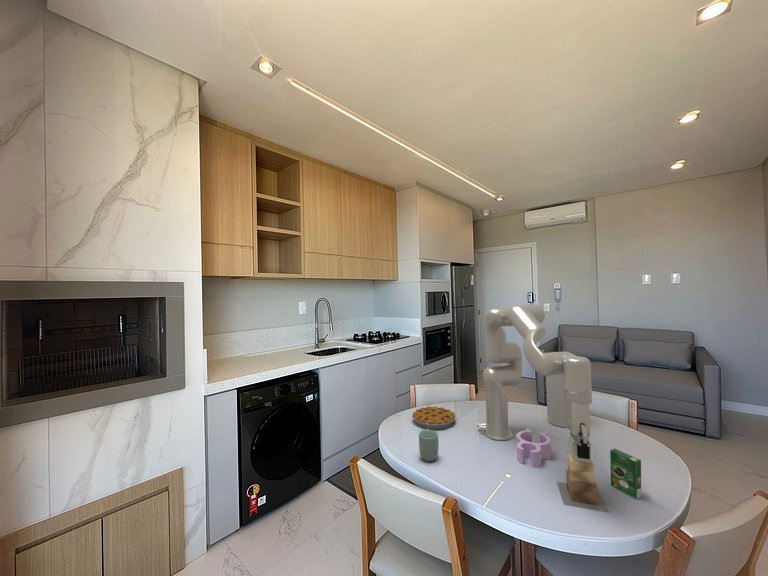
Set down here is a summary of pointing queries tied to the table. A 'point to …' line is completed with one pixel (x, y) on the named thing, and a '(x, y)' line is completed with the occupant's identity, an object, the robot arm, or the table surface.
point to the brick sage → (573, 449)
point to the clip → (533, 448)
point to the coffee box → (625, 473)
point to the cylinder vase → (556, 401)
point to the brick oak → (581, 471)
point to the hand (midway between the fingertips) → (579, 450)
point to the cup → (428, 445)
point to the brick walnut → (581, 491)
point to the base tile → (567, 501)
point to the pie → (433, 418)
